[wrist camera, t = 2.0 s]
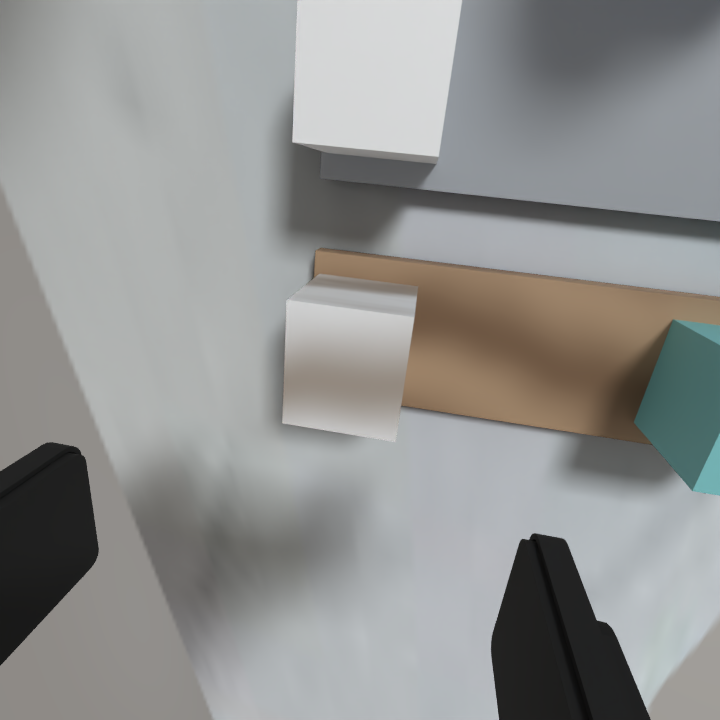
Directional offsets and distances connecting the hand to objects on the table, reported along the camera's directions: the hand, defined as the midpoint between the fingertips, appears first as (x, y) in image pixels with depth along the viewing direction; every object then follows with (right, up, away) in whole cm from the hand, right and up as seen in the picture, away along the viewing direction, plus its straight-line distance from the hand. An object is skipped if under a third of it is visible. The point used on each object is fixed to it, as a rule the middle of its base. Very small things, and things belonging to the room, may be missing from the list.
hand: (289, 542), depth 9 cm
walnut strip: (+12, +4, +12) cm, 17 cm away
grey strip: (+13, +13, +8) cm, 20 cm away
